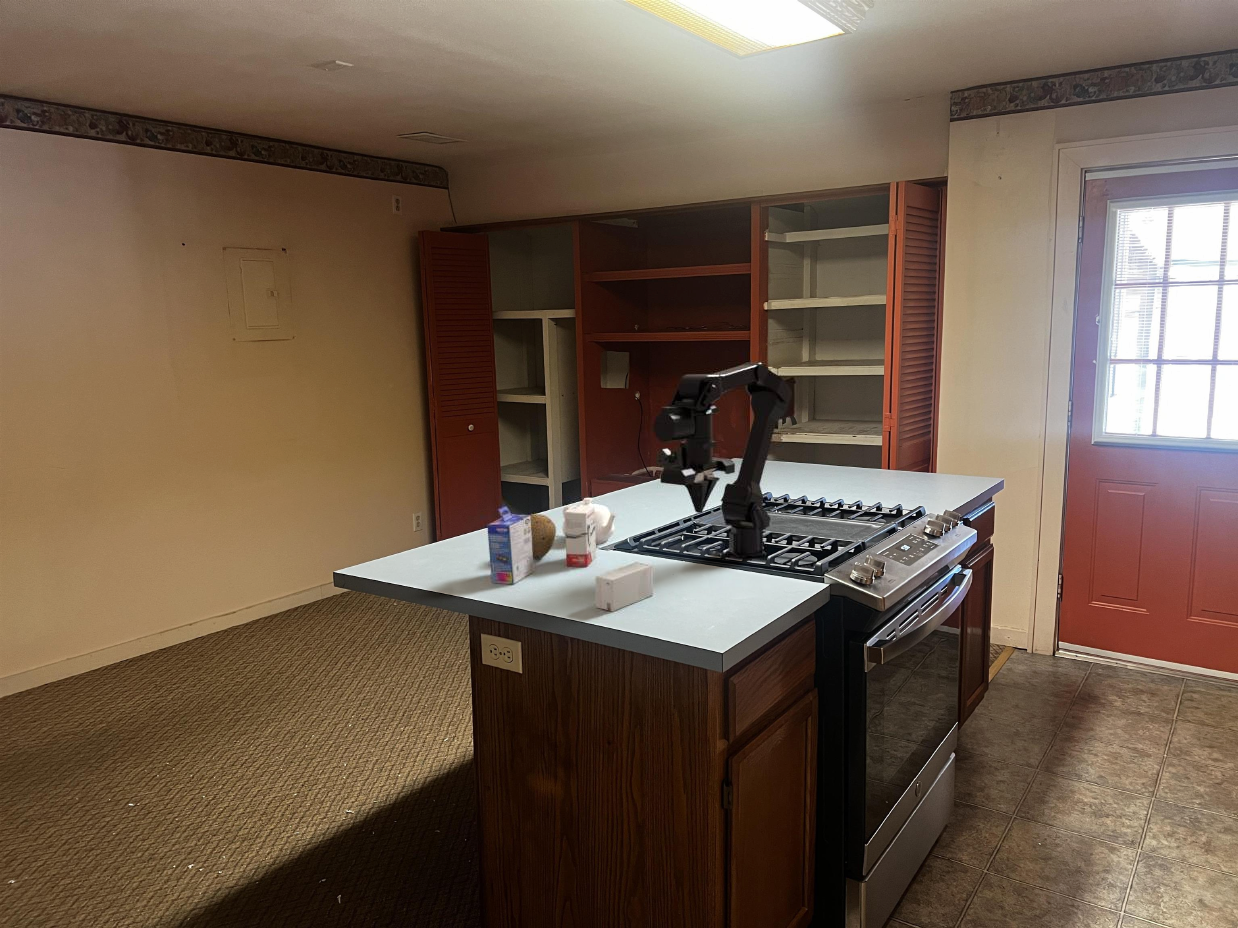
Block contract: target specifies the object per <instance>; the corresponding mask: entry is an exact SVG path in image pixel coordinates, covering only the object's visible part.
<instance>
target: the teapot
mask: <svg viewBox="0 0 1238 928" xmlns="http://www.w3.org/2000/svg"><path fill="white" fill-rule="evenodd" d="M592 501H593V498H592V497H585V498H583V502H584V503H583V504H581V505H586V506H595V537H596V545H599V544H602V543H603V544H604V543H606V542H607V541H609V539H610V538H611V537H612V535H613V534H614V532H615V523H614V520H615V518H616V517H617V516H618V514H617V513H611V512H610V510H609V508H608V507H607V506H605V505H603V504H599V503H598V504H597V503H592ZM570 507H571V506H566V507H564V508H563V510H562V515H563V518H564V521H563V524H562V534H563V535H564V536H565V537H566V534H565V511H566V510H568V509H569V508H570Z"/></svg>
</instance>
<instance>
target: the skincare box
mask: <svg viewBox="0 0 1238 928" xmlns="http://www.w3.org/2000/svg"><path fill="white" fill-rule="evenodd" d="M653 570H654V569H653V565H652V564H649V563H648V564H647V563H643V562H638V561H636V562H632V563H630V564H627V565H625V566H622V567H619V568H616V569H612V570H611V571H607V572H605V573H601V574H599V575H596V576H595V601H596V602H595V604H596V609H601V610H606V611H610V612H615V611H618V610H621V609H623V608H626V607H628V606H630V605H633V604H635V603H637V602H639V601H642V600H644V599H647V598H649V597H652V596H653V595H654V583H653V582H654V571H653Z"/></svg>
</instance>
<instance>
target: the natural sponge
mask: <svg viewBox="0 0 1238 928" xmlns="http://www.w3.org/2000/svg"><path fill="white" fill-rule="evenodd" d="M529 515H530V521H531V536H532V552H533V559H542V558H544V557H545V556H546V555H547V554H549V552H550V551H551V550H552V548H553V545H554V542H555V538H556V535H557V527H556V525H555V523H554V522H553V520H551V519H550V517H548V516H547V515H544V514H541V513H531V514H529Z"/></svg>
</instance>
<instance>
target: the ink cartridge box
mask: <svg viewBox="0 0 1238 928" xmlns="http://www.w3.org/2000/svg"><path fill="white" fill-rule="evenodd" d="M497 511H498V513H499V515H500V517H501V518H500V517H499V518H498V519H496V520H495V521H493V522H490V523H489V524H487V526H486V527H487V540H488V550H489V551H488V553H489V554H488V555H489V563H490V574H491V576H490V577H491V583H492V582H493V583H494V584H495V583H496V584H503V585H504V584H505V585H515V584H517V583H518V582H519V581H521V580H523V579H524V578H526V577H527V576H528V575H530V574H532V573H533V572H534V569H535V568H534V557H533V552H532V536H531V521H530V515H531V514H515V513H511V511H510V509H509V508H508V507H507V506H502V507H501V508H498V509H497ZM504 511H506V512H507V513H505V514H503V512H504ZM493 583H492V584H493Z"/></svg>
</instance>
